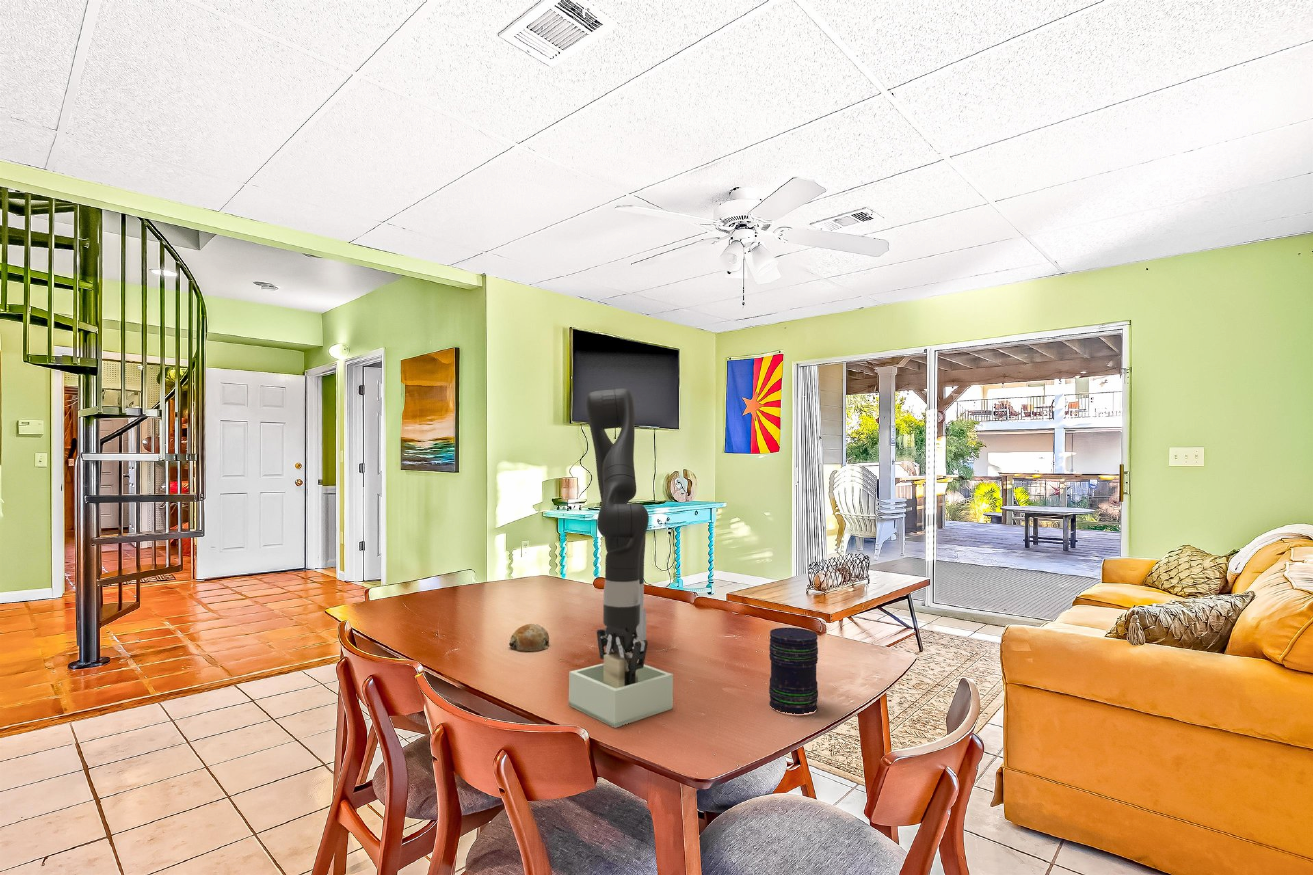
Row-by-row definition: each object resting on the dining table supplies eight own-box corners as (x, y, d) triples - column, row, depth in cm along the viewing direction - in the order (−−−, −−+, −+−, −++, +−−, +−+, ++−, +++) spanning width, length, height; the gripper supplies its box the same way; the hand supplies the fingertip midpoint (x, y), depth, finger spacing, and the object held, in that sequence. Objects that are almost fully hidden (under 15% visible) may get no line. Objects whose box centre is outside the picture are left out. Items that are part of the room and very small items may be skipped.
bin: (625, 689, 142) (625, 657, 143) (672, 708, 131) (672, 674, 132) (568, 705, 132) (569, 671, 132) (614, 728, 121) (615, 691, 121)
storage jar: (774, 695, 139) (775, 625, 140) (821, 702, 136) (821, 630, 136) (764, 711, 130) (764, 636, 131) (813, 719, 126) (813, 642, 127)
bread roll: (537, 666, 169) (551, 639, 169) (502, 649, 169) (516, 621, 170) (544, 655, 179) (557, 629, 179) (511, 639, 179) (524, 612, 179)
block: (622, 684, 135) (622, 650, 136) (637, 690, 132) (638, 655, 132) (603, 689, 132) (603, 654, 132) (618, 696, 128) (619, 660, 129)
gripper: (659, 604, 130) (658, 690, 129) (614, 593, 140) (613, 673, 140) (630, 609, 125) (629, 699, 124) (586, 598, 135) (584, 680, 135)
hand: (620, 685), depth 132 cm, fingers closed on block, 5 cm apart
